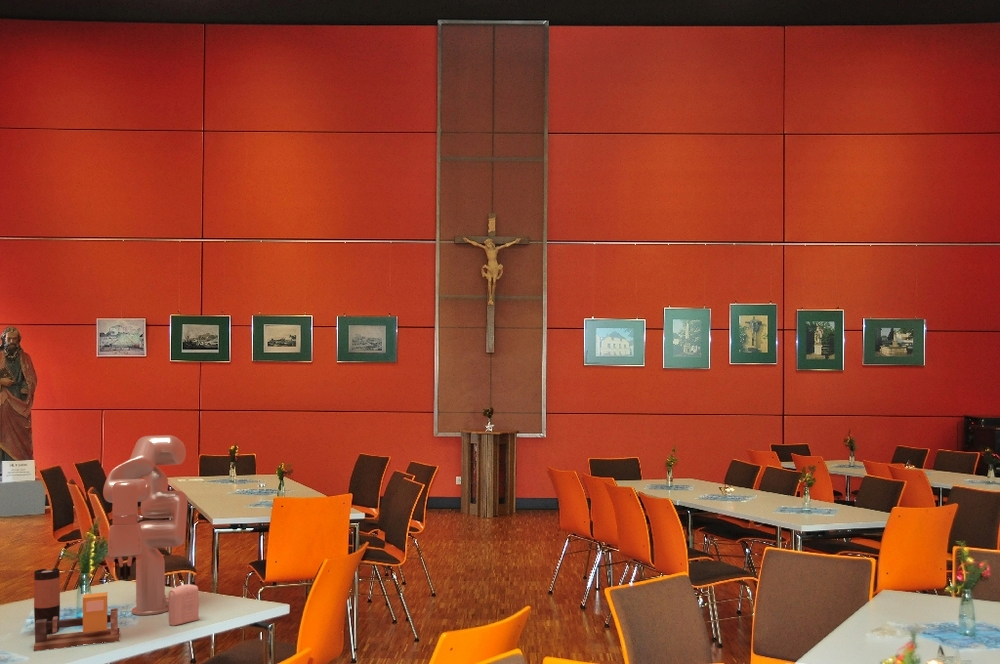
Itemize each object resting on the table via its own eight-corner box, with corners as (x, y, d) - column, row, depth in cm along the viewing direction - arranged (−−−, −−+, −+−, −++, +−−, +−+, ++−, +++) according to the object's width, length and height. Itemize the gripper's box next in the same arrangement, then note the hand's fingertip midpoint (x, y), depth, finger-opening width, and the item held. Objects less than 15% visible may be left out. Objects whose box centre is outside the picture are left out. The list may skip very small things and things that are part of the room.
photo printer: (192, 618, 327) (192, 581, 327) (200, 619, 324) (200, 582, 325) (166, 625, 318) (166, 587, 319) (174, 626, 316) (174, 588, 317)
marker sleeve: (107, 625, 306) (107, 592, 307) (107, 630, 301) (106, 595, 301) (83, 628, 304) (83, 594, 304) (82, 632, 298) (82, 598, 299)
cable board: (119, 632, 310) (119, 605, 311) (119, 641, 299) (118, 613, 300) (37, 641, 302) (37, 614, 302) (33, 651, 291) (33, 622, 291)
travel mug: (43, 636, 307) (43, 573, 308) (29, 633, 312) (29, 571, 312) (65, 630, 314) (64, 569, 315) (50, 628, 318) (50, 567, 319)
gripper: (149, 517, 313) (149, 574, 312) (100, 520, 308) (100, 579, 307) (150, 520, 306) (150, 578, 305) (99, 523, 301) (99, 583, 300)
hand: (125, 578), depth 306 cm, fingers closed
